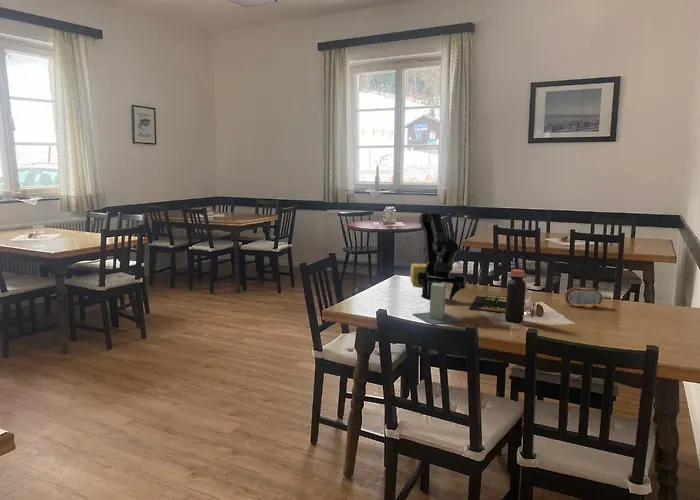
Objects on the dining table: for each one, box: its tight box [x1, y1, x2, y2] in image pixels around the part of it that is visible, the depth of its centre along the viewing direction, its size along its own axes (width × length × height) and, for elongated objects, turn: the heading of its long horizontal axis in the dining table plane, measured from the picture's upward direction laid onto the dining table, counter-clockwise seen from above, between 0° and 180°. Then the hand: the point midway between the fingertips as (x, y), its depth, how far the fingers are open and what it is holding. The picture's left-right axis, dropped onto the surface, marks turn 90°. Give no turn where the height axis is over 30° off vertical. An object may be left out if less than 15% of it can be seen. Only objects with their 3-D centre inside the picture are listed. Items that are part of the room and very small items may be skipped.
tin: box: [564, 286, 603, 305], centre depth 231 cm, size 15×3×8 cm, turn 84°
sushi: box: [468, 294, 507, 314], centre depth 229 cm, size 25×25×4 cm
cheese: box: [409, 263, 427, 287], centre depth 267 cm, size 10×11×10 cm
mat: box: [412, 311, 463, 325], centre depth 209 cm, size 14×14×1 cm
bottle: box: [504, 268, 527, 324], centre depth 206 cm, size 7×7×20 cm
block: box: [429, 283, 447, 319], centre depth 208 cm, size 5×5×13 cm
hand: (438, 298), depth 209 cm, fingers open, 9 cm apart
